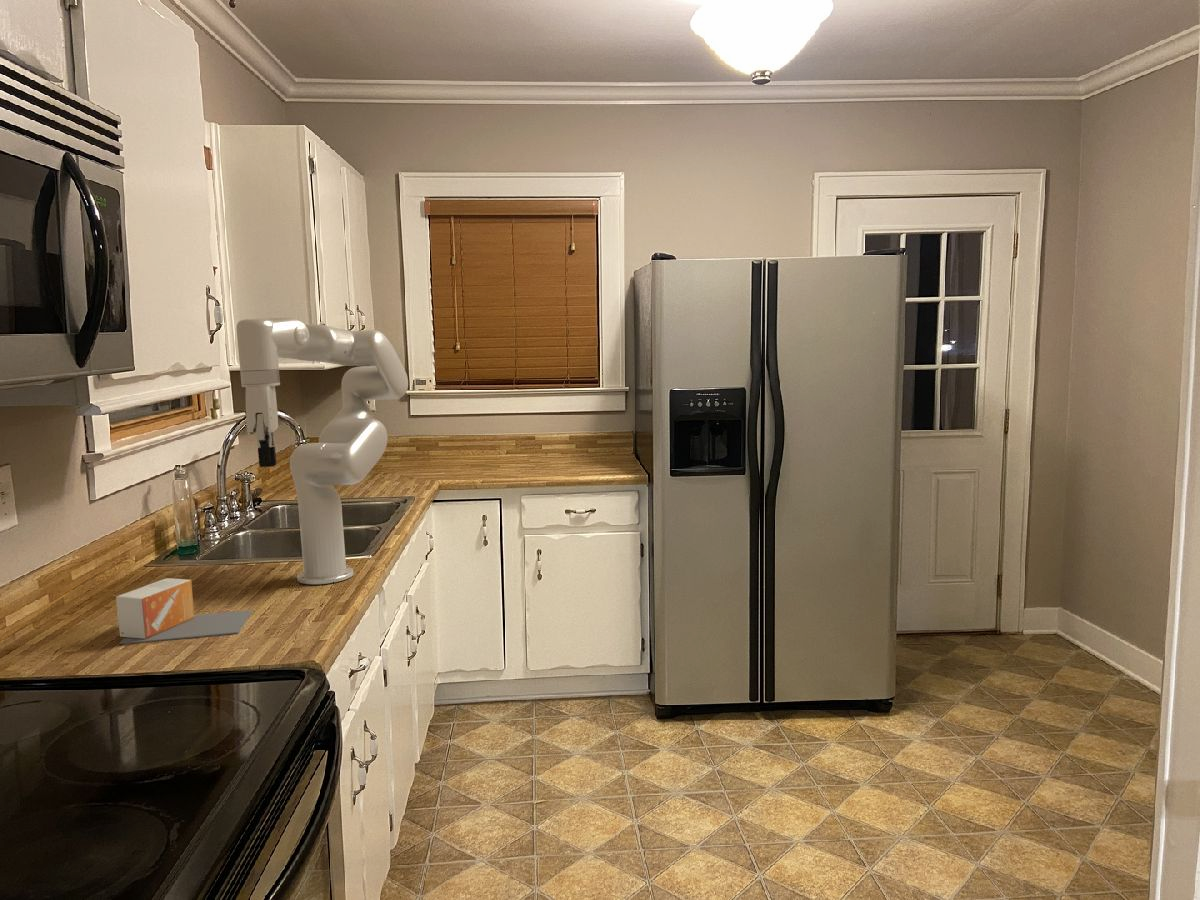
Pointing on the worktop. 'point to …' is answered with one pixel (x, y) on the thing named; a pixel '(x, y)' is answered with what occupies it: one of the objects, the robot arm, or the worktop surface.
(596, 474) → the worktop surface
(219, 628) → the mat
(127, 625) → the small box
